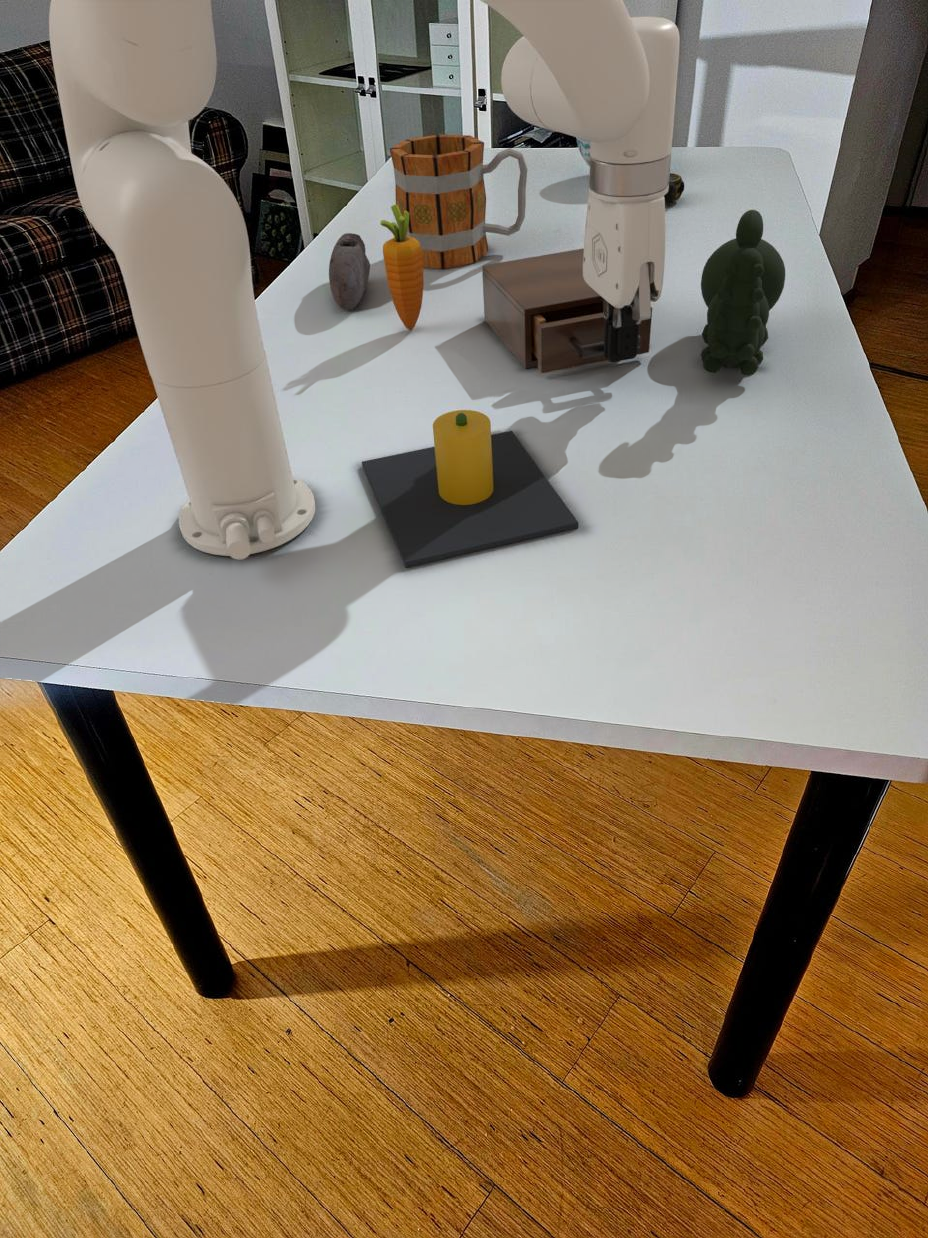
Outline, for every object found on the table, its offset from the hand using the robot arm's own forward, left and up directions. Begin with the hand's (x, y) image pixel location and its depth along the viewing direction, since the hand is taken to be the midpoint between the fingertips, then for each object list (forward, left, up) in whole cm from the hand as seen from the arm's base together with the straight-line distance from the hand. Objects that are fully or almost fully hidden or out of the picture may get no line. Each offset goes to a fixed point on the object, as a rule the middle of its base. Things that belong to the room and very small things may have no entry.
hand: (620, 356), depth 96 cm
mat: (-14, +22, -4) cm, 27 cm away
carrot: (+26, +17, -4) cm, 32 cm away
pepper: (-14, +22, -3) cm, 26 cm away
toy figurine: (+4, -16, -4) cm, 17 cm away
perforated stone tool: (+40, +22, -4) cm, 46 cm away
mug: (+51, +2, -4) cm, 51 cm away
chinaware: (+77, -35, -4) cm, 85 cm away
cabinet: (+17, 0, -4) cm, 18 cm away
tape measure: (+59, -35, -4) cm, 69 cm away
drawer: (+11, 0, -3) cm, 11 cm away
